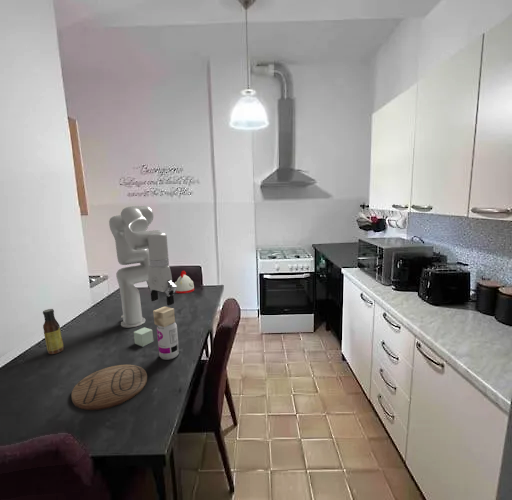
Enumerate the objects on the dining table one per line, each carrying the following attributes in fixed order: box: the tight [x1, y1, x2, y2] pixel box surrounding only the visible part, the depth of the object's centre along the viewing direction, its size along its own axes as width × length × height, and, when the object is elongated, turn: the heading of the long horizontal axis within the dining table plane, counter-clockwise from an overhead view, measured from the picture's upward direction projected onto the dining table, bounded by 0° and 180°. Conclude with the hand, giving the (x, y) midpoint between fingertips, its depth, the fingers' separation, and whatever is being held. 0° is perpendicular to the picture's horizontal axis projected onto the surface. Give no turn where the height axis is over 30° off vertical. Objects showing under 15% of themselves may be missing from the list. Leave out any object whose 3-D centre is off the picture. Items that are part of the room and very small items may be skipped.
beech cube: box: [152, 306, 176, 327], centre depth 131 cm, size 6×6×6 cm
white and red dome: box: [174, 270, 195, 294], centre depth 227 cm, size 14×14×15 cm
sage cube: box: [133, 327, 154, 347], centre depth 147 cm, size 6×6×6 cm
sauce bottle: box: [42, 308, 64, 355], centre depth 140 cm, size 7×6×20 cm
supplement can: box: [156, 321, 180, 361], centre depth 133 cm, size 8×8×15 cm
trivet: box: [71, 364, 148, 411], centre depth 113 cm, size 25×25×2 cm
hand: (162, 302), depth 130 cm, fingers open, 9 cm apart
